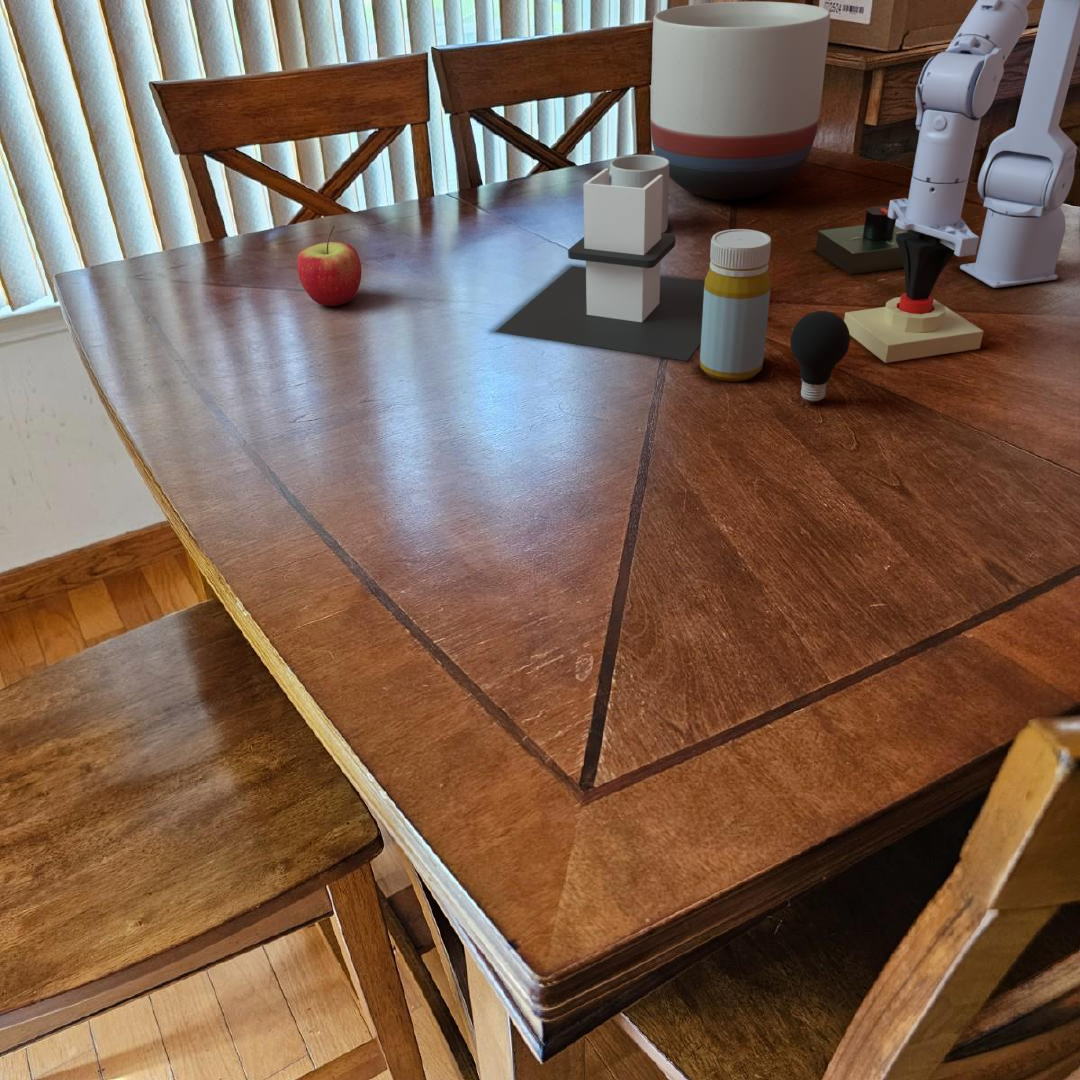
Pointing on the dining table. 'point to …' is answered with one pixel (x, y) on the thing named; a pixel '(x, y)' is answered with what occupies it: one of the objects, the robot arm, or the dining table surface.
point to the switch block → (912, 332)
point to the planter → (737, 93)
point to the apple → (330, 272)
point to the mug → (642, 176)
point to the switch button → (916, 305)
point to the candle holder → (618, 281)
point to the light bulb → (818, 350)
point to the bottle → (736, 305)
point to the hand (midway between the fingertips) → (917, 297)
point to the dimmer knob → (878, 224)
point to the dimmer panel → (859, 250)
